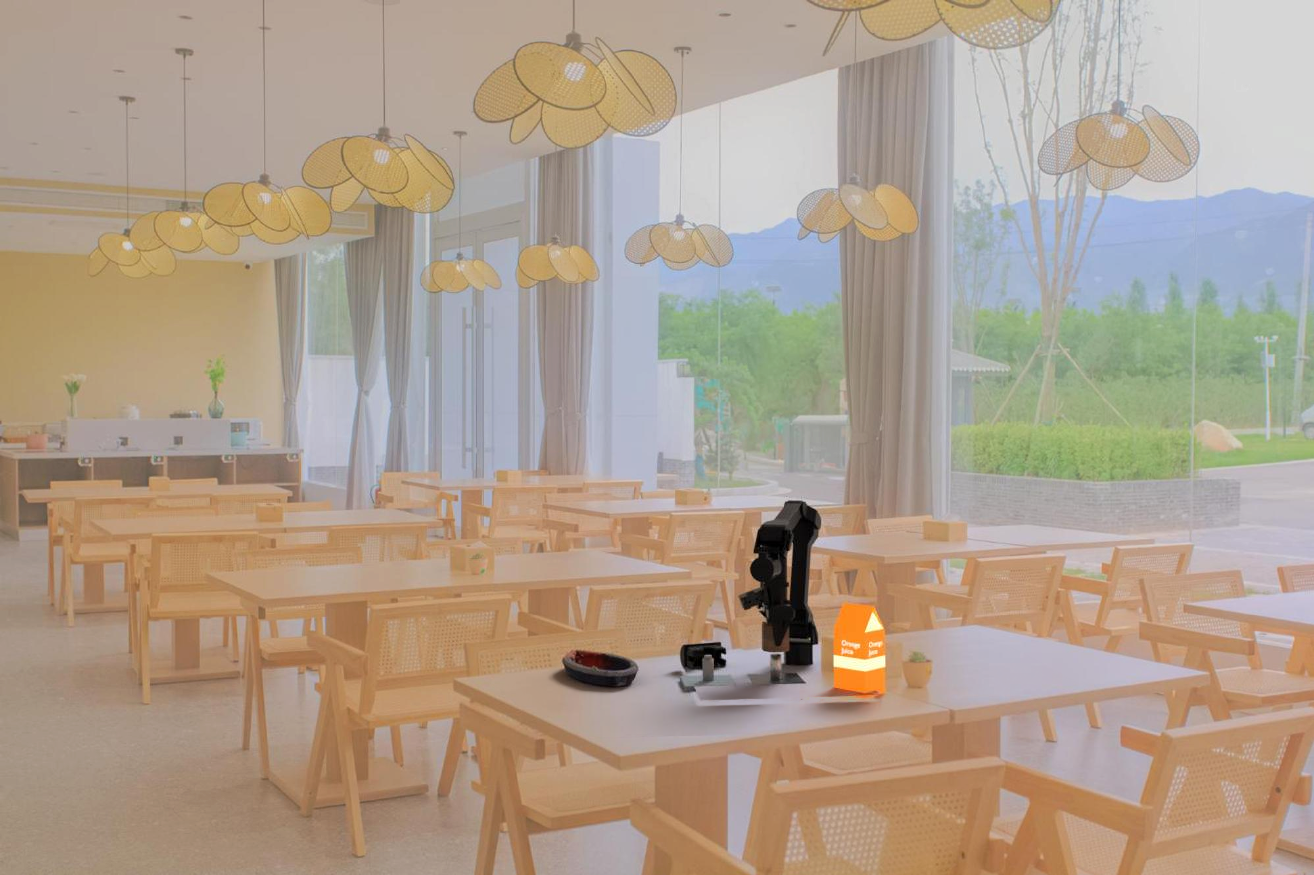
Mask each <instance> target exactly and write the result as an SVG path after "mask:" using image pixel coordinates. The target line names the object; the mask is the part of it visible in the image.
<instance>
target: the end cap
mask: <svg viewBox="0 0 1314 875" xmlns="http://www.w3.org/2000/svg"><path fill="white" fill-rule="evenodd" d="M704 655H712V658H713V659H714V669H717V668H725V667H726V666H727V659H725V658H723V657H722V655H727V649H726V647H724V646H722V642H720V641H714V642H702V643H691V644H690V643H689V644H688V643H687V644H683V645H682V646H681V648H680V652H679V660H680V664H681V667H682V668H683V669H684V670H685V672H687V670H686V667H687V668H690V669H692V670H703V662H702V659H703V658H704Z"/></svg>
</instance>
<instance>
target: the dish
mask: <svg viewBox="0 0 1314 875" xmlns="http://www.w3.org/2000/svg"><path fill="white" fill-rule="evenodd" d="M561 661H562V665H563V666H564V669H565V671H566V673H567V674H568V675H569V676H570V677H573V678H574V679H575V680H578V681H581V682H583V683H586V684H591V685H594V686H595V685H596V686H601V687H602V686H603V687H623V686H625V685H628V684H631V683H633V681H634V680H635V678H636V676H637V674H638V671H639V666H638V664H637V663H636V662H635V661H634V660H632V659H630V658H628V657H625V656H621V655H618V654H614V653H609V652H602V651H601V652H600V651H592V650H583V649H582V650H581V649H575V650H570V651H569V652H567V653H566V654H565V655H564V656H563V657H562V659H561Z"/></svg>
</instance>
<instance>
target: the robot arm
mask: <svg viewBox="0 0 1314 875" xmlns="http://www.w3.org/2000/svg"><path fill="white" fill-rule="evenodd" d="M821 526H822V517H821V515H820V513H819V512H818V510H817V509H815V508H813V507H812V506H810V505H808V503H807V502H806V501H804V500H798V499H797V500H795V499H794V500H793V499H791V500H790V499H789V500H786V501H784V503H783V507H782V509H780V511H779V512H778V514H777V515H776V516H775V518H774V519H772V520H767V521H764V522H763V523H762V524H761V525H760V527H759V528H758V529H757V531H756V532H757V533H756V537H755V542H754V546H753V554H754V555H756V554H757V558H755V559H754V560H752V562H751V564H750V566H749V571H750V572H749V573H750V574H751V577H752V578H753V579H754V580H755V582H758V583H759V587H757V588H755V589H751V590H749V591H746V592H743V593H741V594H738V596H737V597H738V599H739V602H740V605H741V607H742V609H743V610H744V611H747V610H750V609H752V608H753V607H756V609H758V612H759V613H760V614H761V615H762V616H763V617H764V619H765V622H766V623H771V624H772V629H773V635H774V641H775V645H776V646H781V643H782V641H783V639H784V636H785V634H786V632H787V629H788V627H789V651H786V652H783V664H784V665H785V666H796V667H797V666H799V667H801V666H802V667H803V666H805V667H806V666H810V665H814V663H813V662H814V652H813V651H814V650H813V649H814V647H813V646H817V645H819V632H818V629H817V626H816V623H815V621H814V614H813V612H812V610H811V608H810V606H809V604H808V603H809V602H808V601H809V590H810V589H809V587H810V586H809V585H810V570H811V569H810V568H811V555H812V554H811V553H812V546H813V545H814V544H815V542H816V541H817V540H818V538H819V531H820V530H821ZM791 548H792V553H791V554H792V555H791V556H792V557H791V569H790V570H791V571H790V583H789V581H788V553H789V552H791ZM788 588H789V599H788Z"/></svg>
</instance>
